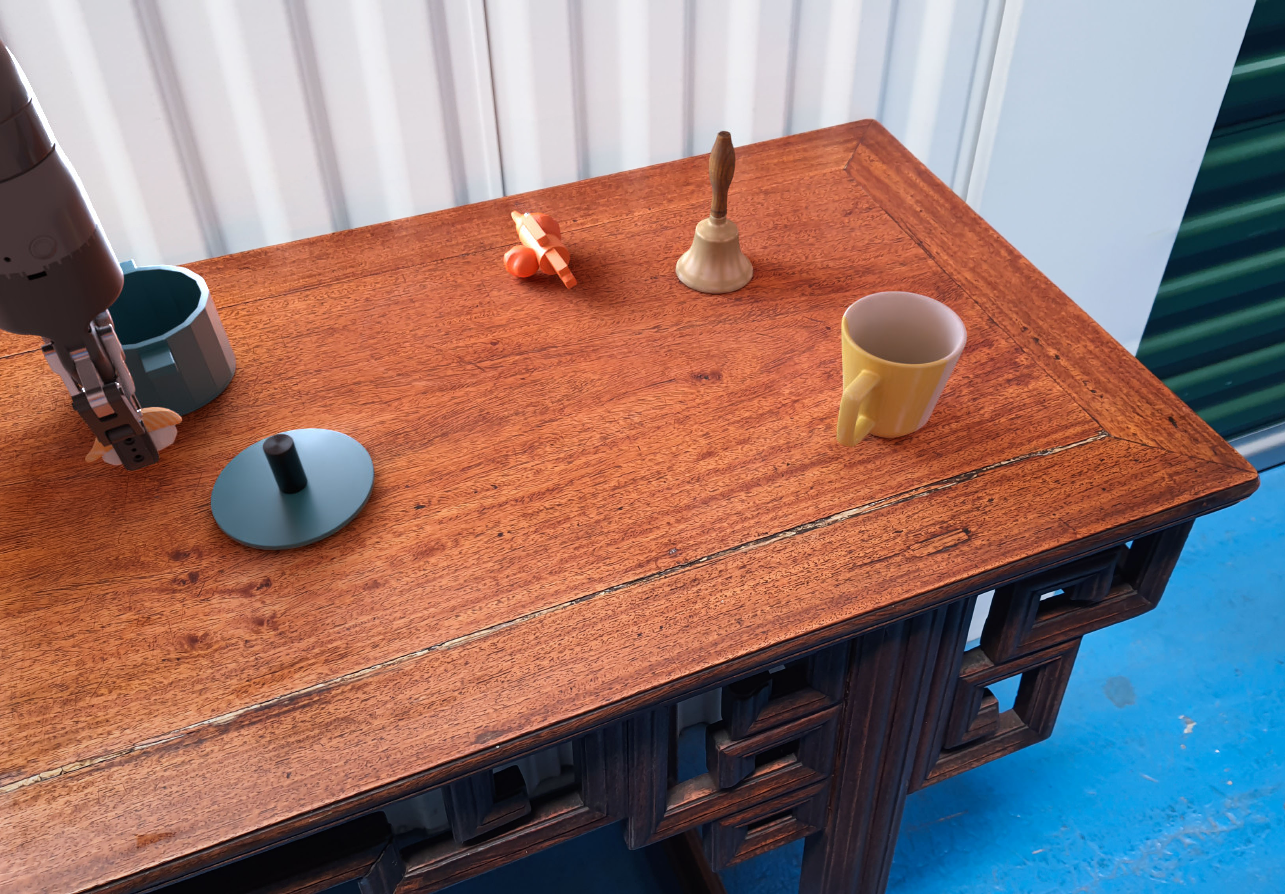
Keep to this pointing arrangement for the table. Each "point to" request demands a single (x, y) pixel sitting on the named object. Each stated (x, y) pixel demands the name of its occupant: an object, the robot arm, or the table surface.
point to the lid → (292, 489)
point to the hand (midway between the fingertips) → (138, 447)
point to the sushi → (158, 427)
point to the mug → (895, 363)
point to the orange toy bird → (539, 248)
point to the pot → (171, 338)
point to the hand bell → (716, 234)
